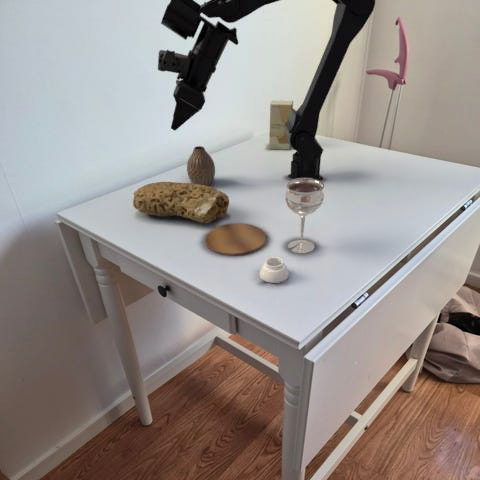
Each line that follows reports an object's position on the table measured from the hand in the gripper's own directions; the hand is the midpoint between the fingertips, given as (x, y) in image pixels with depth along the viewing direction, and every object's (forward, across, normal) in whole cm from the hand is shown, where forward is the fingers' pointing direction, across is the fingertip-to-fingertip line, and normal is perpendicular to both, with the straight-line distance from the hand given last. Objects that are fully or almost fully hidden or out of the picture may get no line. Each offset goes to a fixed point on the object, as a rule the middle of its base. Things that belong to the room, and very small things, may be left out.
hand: (173, 123), depth 96 cm
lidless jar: (+3, +42, +23) cm, 48 cm away
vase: (+10, -1, +12) cm, 16 cm away
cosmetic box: (-3, -25, +32) cm, 41 cm away
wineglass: (0, +33, +28) cm, 43 cm away
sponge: (+12, +16, +8) cm, 22 cm away
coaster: (+6, +29, +18) cm, 34 cm away
